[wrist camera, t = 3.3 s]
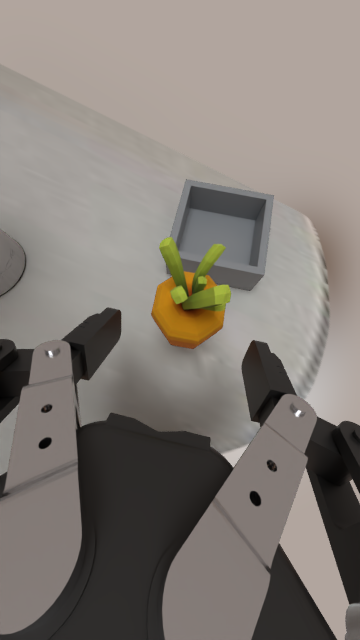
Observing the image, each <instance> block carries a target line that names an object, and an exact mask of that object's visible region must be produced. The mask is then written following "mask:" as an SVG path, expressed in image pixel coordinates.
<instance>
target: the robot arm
mask: <svg viewBox="0 0 360 640" xmlns="http://www.w3.org/2000/svg"><path fill="white" fill-rule="evenodd" d="M24 267H25V254H24V251H23V249H22V247H21V246H20V245H19V243H17V242H16V241H15V240H14V239H12V238H11V237H10V236H9V235H7V234H6V233H5V232H3V231H2V230H1V229H0V295H1V294H3V293H5V292H6V291H8V290H9V289H10V288H12V287H13V286H14V284H15V283H16V282H17V281H18V280H19V278H20V276H21V275H22V273H23V270H24ZM120 336H121V311H120V310H117V309H112V308H106V309H105V310H104V311H103V312H102V313H100V314H98V313H97V314H95V315H92V316H90V317H88V318H87V319H86V320H85V321H83V323H81V324H80V325H79V326H78V327H76V328H75V329H74V330H73V331H71V332H70V333H69V334H68V335H67V336H65V337H64V338H63V339H62V340H53V341H48V342H45V343H43V344H41V345H39V346H38V347H36V349H16V346H15V344H14V342H13V341H11V340H7V339H0V423H1V422H2V420H3V419H4V418H5V417H6V416H7V415H8V414H9V413H10V412H11V411H12V410H13V409H14V408H15V407H16V406H17V405H18V403H19V408H18V414H17V420H16V426H15V432H14V438H13V443H12V449H11V455H10V461H9V467H8V472H6V473H4V474H3V475H1V476H0V640H337V639H336V637H335V635H334V634H333V632H332V631H331V629H330V627H329V625H328V624H327V622H326V620H325V619H324V617H323V615H322V614H321V612H320V611H319V609H318V607H317V606H316V604H315V602H314V600H313V599H312V597H311V595H310V594H309V592H308V590H307V589H306V587H305V586H304V584H303V582H302V581H301V579H300V577H299V575H298V574H297V572H296V570H295V569H294V567H293V566H292V564H291V562H290V560H289V559H288V557H287V555H286V554H285V552H284V551H283V549H282V547H281V546H280V544H279V541H280V538H281V535H282V532H283V529H284V526H285V524H286V521H287V518H288V515H289V512H290V509H291V507H292V504H293V501H294V498H295V495H296V492H297V489H298V487H299V484H300V481H301V478H302V475H303V473H304V469H305V467H306V469H307V472H308V475H309V478H310V482H311V484H312V488H313V491H314V494H315V497H316V501H317V504H318V507H319V510H320V513H321V516H322V519H323V523H324V526H325V529H326V532H327V535H328V538H329V541H330V545H331V548H332V551H333V554H334V557H335V560H336V564H337V567H338V570H339V573H340V576H341V579H342V582H343V585H344V589H345V592H346V595H347V598H348V601H349V604H350V605H349V607H348V609H347V611H346V631H347V633H346V635H345V640H360V504H359V501H358V499H357V497H356V495H355V493H354V491H353V488H352V486H351V484H350V482H349V481H351V480H352V479H353V481H354V483H355V485H356V487H357V489H358V491H359V493H360V426H359V425H357V424H355V423H353V422H349V421H343V422H341V423H340V424H339V425H338V426H335V425H333V424H331V423H329V422H327V421H325V420H323V419H321V418H319V417H317V415H316V413H315V411H314V409H313V408H312V407H311V406H310V405H309V404H308V403H307V402H306V401H305V400H303V399H302V398H300V397H298V396H297V395H296V393H295V390H294V388H293V386H292V384H291V382H290V380H289V377H288V375H287V373H286V371H285V369H284V367H283V364H282V362H281V360H280V359H279V358H278V357H277V356H276V355H275V354H274V353H271V352H270V349H269V347H268V345H267V343H264V342H259V341H255V340H253V341H252V342H251V343H250V346H249V348H248V350H247V352H246V354H245V357H244V359H243V362H242V374H243V379H244V385H245V390H246V396H247V401H248V407H249V412H250V417H251V421H254V422H258V423H260V427H261V428H260V429H259V431H258V432H257V434H256V435H255V437H254V438H253V440H252V441H251V443H250V444H249V446H248V447H247V449H246V450H245V452H244V453H243V454H242V456H241V457H240V459H239V460H238V462H237V464H236V465H235V467H234V468H233V467H232V465H231V464H230V463H229V462H228V461H227V460H226V459H225V458H224V457H223V456H222V455H221V454H220V453H219V452H218V451H216V450H215V449H213V448H212V447H210V437H206V436H202V435H198V434H194V433H190V432H186V431H178V432H158V431H155V430H154V429H152V428H150V427H148V426H147V425H145V424H143V423H141V422H140V421H138V420H136V419H134V418H130V417H126V416H122V415H118V414H114V413H110V415H109V417H108V419H107V421H97V422H93V423H89V424H87V425H84V426H82V425H81V418H80V408H79V398H78V388H77V383H78V381H79V380H80V379H84V380H88V381H89V380H90V378H91V377H92V376H93V374H94V373H95V372H96V370H97V369H98V368H99V366H100V365H101V363H102V362H103V361H104V359H105V358H106V357H107V355H108V354H109V353H110V351H111V350H112V349H113V347H114V346H115V345H116V343H117V342H118V340H119V338H120Z"/></svg>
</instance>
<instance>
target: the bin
mask: <svg viewBox="0 0 360 640" xmlns="http://www.w3.org/2000/svg"><path fill="white" fill-rule="evenodd" d="M273 199H274V195H268V194H263V193H258V192H253V191H247V190H242V189H236V188H231V187H225V186H220V185H214V184H209V183H203V182H198V181H192V180H187V179H186V181H185V185H184V188H183V192H182V195H181V199H180V203H179V206H178V210H177V213H176V217H175V221H174V224H173V228H172V231H171V235H170V237H172V238H173V240H174V242H175V244H176V246H177V249H178V251H179V254H180V257H181V262H182V266H183V270H184V271H186V272H192V273H195V272H196V270H197V268H198V266H199V264H200V263H201V261H202V259H203V257H204V256H205V255H206V253H207V252H208V250H209V249H210V248H211V247H212V246H213V244H222V245H223V246H225V247H226V249H225V250H224V251H223V253H222V254H221V256H220V257H219V258H218V260H217V261H216V262H215V263H214V265H213V266H212V267H211V269H210V270H209V271H208V273H207V274H206V275H209V276H210V277H211V279H212V280H213V281H214V282H215V284H220V285H229V286H230V287H235V288H239V289H244V290H249V291H250V290H251V289H252V288H253V287H254V286H255V285H256V284H257V283H258V281H259V280H260V279H261V278H262V277H263V276H264V273H265V265H266V257H267V249H268V241H269V232H270V224H271V216H272V208H273ZM166 268H167V274H171V273H170V271H169V268H168V266H167V264H166Z"/></svg>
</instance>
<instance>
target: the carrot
mask: <svg viewBox="0 0 360 640" xmlns="http://www.w3.org/2000/svg"><path fill="white" fill-rule="evenodd" d="M159 248H160V251H161V254H162V256H163V258H164V260H165V262H166V264H167V266H168V268H169V271H170V273H171V275H172V277H171V278H169V279H168V280H166V281H164V282H163V283H161V284H159V285H158V287H157V291H156V296H155V300H154V304H153V309H152V313H151V315H152V317H153V319H154V321H155V322H156V324H157V325H158V327H159V328H160V330H161V331H162V333H163V334H164V336H165V337H166V338H167V340H168V341H169V343H170V344H171V345H174V346H179V347H185V348H190V349H194V348H195V347H197V346H198V345H200V344H201V343H203V342H204V341H205V340H207V339H208V338H210V337H211V336H212V335H214V334H215V333H217V332H218V331H219V330H221V329H222V327H223V321H224V313H225V306H226V303H228V302H230V297H231V291H230V288H229V285H219V286H217V285H216V284H215V282H214V281H213V280H212V279H211V277H210V276H209V275H206V274H207V273H208V271H209V270H210V269H211V267H212V266H213V265H214V263H215V262H216V261H217V260H218V258H219V257H220V256H221V254H222V253H223V251H224V250H225V249H226V247H225V246H223V245H222V244H213V246H212V247H211V248H210V249H209V250H208V252H207V253H206V255H205V256H204V257H203V259H202V261H201V263H200V264H199V266H198V268H197V270H196V272H195V273H192V272H186V271H184V270H183V266H182V262H181V257H180V254H179V251H178V249H177V246H176V244H175V242H174V240H173V238H172V237H169V238H166V239H164V240H162V242H161V243H160V247H159Z"/></svg>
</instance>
